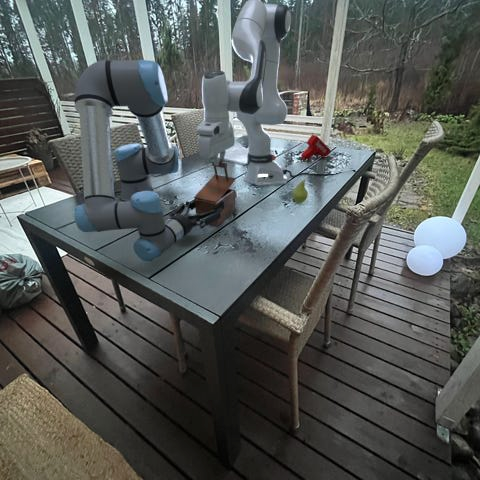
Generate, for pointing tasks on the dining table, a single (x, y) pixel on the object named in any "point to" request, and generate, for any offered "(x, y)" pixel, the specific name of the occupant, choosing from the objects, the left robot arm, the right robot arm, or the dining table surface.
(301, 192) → the fruit
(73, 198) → the dining table surface
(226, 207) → the chest
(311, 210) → the dining table surface
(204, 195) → the lid
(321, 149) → the toy gun
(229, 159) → the relief map
